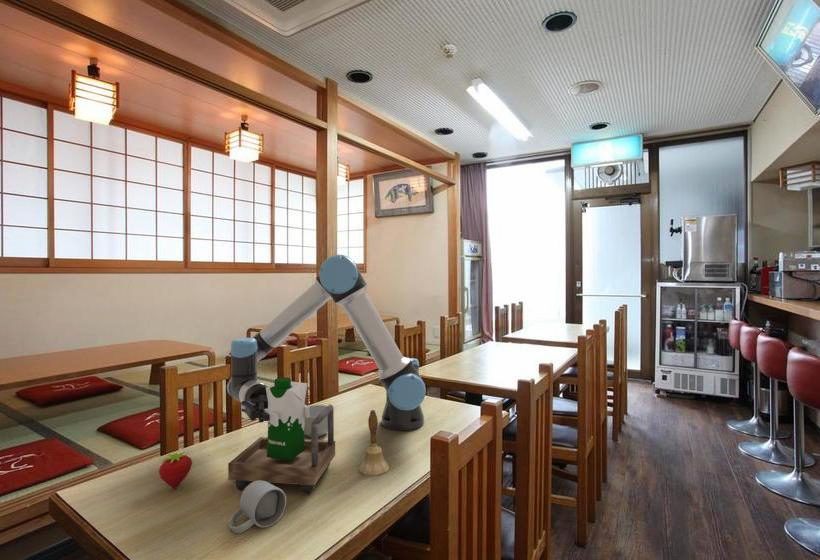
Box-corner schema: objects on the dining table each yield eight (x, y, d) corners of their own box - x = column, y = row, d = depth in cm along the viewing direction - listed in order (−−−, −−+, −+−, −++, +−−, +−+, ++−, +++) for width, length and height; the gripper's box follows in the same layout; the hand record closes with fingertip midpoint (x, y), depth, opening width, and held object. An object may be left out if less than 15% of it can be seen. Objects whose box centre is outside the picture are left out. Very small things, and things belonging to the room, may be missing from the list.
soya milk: (261, 458, 103) (262, 379, 103) (282, 444, 111) (283, 372, 111) (291, 463, 100) (292, 383, 100) (310, 448, 109) (311, 374, 109)
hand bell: (364, 478, 105) (364, 418, 105) (355, 465, 113) (354, 408, 113) (393, 471, 109) (393, 413, 109) (382, 459, 116) (382, 404, 116)
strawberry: (197, 484, 103) (197, 445, 103) (166, 498, 96) (166, 457, 96) (184, 478, 106) (184, 440, 106) (154, 491, 99) (153, 451, 99)
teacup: (336, 428, 140) (336, 405, 140) (326, 441, 129) (326, 416, 129) (297, 426, 141) (297, 403, 141) (284, 439, 130) (284, 414, 130)
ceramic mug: (268, 503, 94) (267, 471, 94) (287, 517, 89) (286, 483, 88) (222, 525, 86) (221, 490, 86) (240, 542, 81) (238, 504, 81)
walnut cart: (336, 465, 112) (335, 402, 112) (315, 497, 96) (314, 423, 96) (260, 461, 115) (259, 399, 115) (228, 491, 99) (227, 419, 99)
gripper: (290, 401, 126) (328, 421, 109) (220, 417, 112) (252, 443, 95) (289, 377, 126) (328, 393, 109) (219, 390, 112) (252, 411, 95)
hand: (293, 416), depth 102 cm, fingers closed on soya milk, 8 cm apart
